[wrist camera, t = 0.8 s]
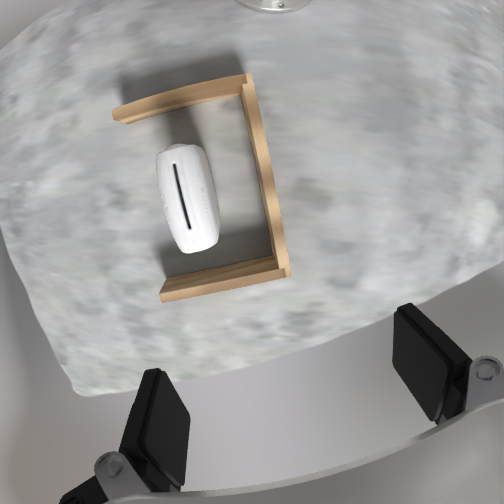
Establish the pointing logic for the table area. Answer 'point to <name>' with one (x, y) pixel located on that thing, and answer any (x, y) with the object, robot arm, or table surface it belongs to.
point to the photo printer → (188, 196)
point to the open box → (279, 260)
